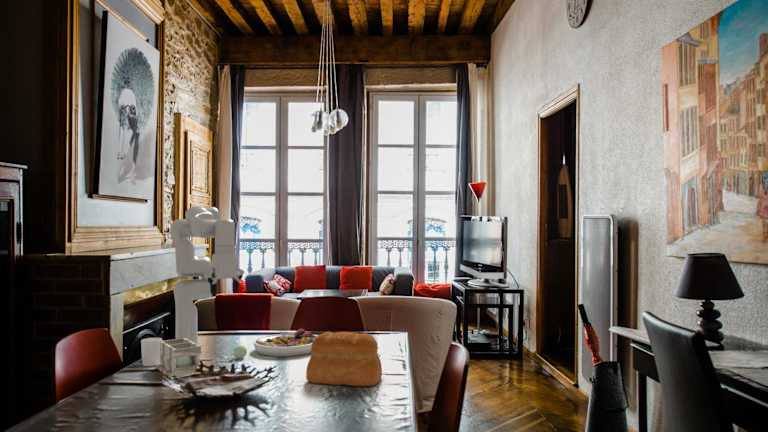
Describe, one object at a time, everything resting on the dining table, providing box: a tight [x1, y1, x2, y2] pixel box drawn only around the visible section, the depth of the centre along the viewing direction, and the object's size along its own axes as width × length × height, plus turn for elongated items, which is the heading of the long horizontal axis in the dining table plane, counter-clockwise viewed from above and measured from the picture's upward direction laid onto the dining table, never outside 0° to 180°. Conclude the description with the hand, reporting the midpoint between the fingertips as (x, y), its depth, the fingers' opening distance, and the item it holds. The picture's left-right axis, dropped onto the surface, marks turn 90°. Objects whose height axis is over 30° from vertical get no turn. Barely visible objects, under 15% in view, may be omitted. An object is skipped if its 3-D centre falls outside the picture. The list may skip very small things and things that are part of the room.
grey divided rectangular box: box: [155, 338, 202, 377], centre depth 199 cm, size 21×12×10 cm, turn 38°
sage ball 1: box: [176, 356, 191, 368], centre depth 195 cm, size 6×6×6 cm
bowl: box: [253, 328, 319, 358], centre depth 233 cm, size 30×30×8 cm
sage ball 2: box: [232, 344, 248, 360], centre depth 218 cm, size 6×6×6 cm
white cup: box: [140, 337, 163, 367], centre depth 210 cm, size 8×8×10 cm
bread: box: [305, 331, 383, 387], centre depth 185 cm, size 16×26×17 cm, turn 77°
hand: (224, 293), depth 205 cm, fingers open, 9 cm apart
